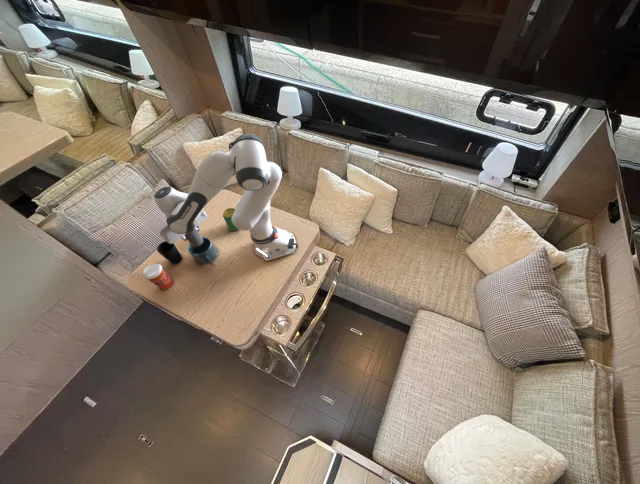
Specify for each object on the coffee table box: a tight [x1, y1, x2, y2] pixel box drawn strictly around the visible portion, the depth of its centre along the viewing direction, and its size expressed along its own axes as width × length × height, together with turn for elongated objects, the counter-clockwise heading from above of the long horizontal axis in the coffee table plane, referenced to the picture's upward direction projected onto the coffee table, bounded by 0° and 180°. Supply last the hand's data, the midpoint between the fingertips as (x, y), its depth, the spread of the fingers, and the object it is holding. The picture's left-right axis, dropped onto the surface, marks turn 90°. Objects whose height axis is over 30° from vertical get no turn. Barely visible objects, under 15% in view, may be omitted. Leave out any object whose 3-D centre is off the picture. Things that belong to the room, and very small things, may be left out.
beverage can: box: [222, 207, 240, 232], centre depth 157 cm, size 8×8×12 cm
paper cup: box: [142, 263, 173, 290], centre depth 131 cm, size 8×8×14 cm
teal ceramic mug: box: [187, 236, 219, 266], centre depth 144 cm, size 15×11×9 cm
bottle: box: [183, 227, 203, 247], centre depth 133 cm, size 6×6×15 cm
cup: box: [156, 240, 183, 265], centre depth 141 cm, size 8×8×12 cm
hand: (192, 235), depth 134 cm, fingers closed on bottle, 6 cm apart
